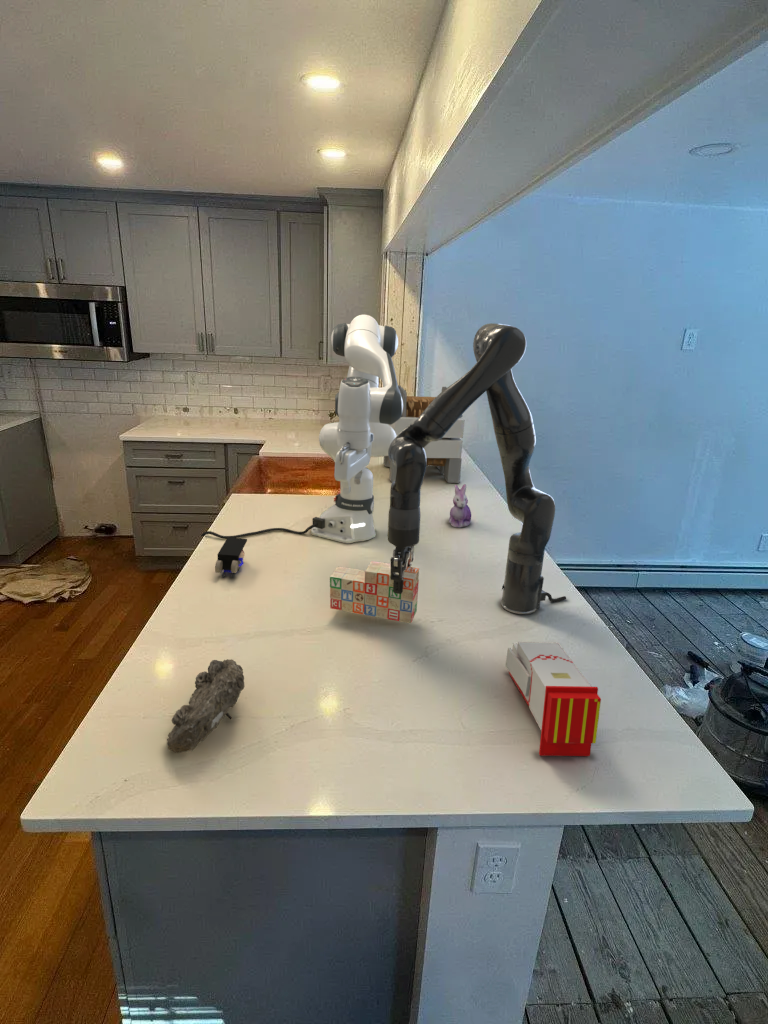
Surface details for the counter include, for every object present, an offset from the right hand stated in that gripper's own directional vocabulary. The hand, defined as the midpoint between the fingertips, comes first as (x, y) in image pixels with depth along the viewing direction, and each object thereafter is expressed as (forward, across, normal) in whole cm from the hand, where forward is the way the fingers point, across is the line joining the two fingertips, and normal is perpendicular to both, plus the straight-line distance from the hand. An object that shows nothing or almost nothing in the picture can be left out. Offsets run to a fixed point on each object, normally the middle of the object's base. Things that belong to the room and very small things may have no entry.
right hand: (401, 586), depth 139 cm
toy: (+11, -21, -35) cm, 42 cm away
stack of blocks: (+8, 0, +7) cm, 11 cm away
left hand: (-16, +21, +20) cm, 33 cm away
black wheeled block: (+10, +13, +55) cm, 57 cm away
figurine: (+12, +77, -3) cm, 78 cm away
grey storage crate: (+12, +139, +26) cm, 142 cm away
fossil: (+10, -45, +25) cm, 52 cm away
